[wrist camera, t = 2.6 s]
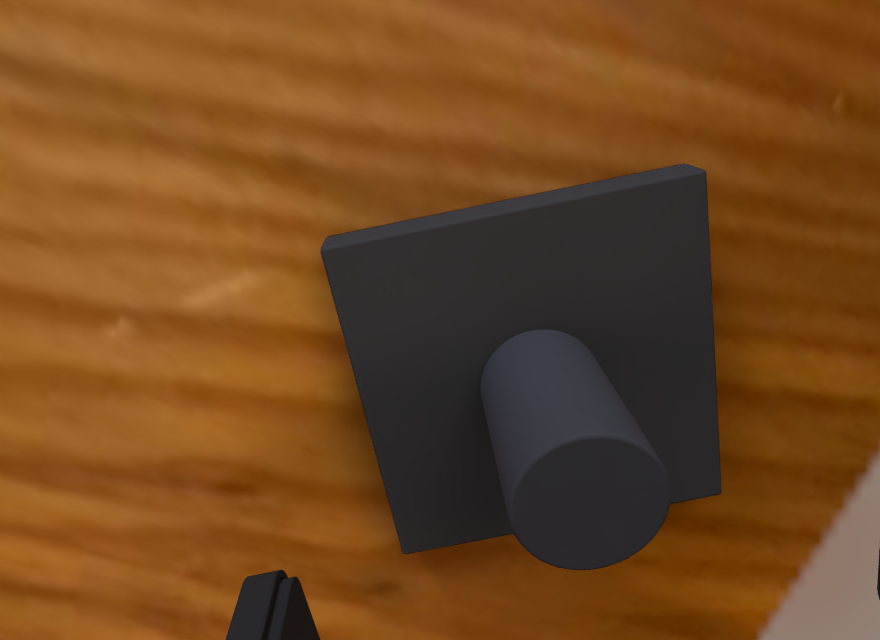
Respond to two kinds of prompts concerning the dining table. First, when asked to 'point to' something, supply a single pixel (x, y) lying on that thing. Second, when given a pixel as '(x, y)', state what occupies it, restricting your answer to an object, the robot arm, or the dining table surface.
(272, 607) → the robot arm
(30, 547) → the dining table surface
